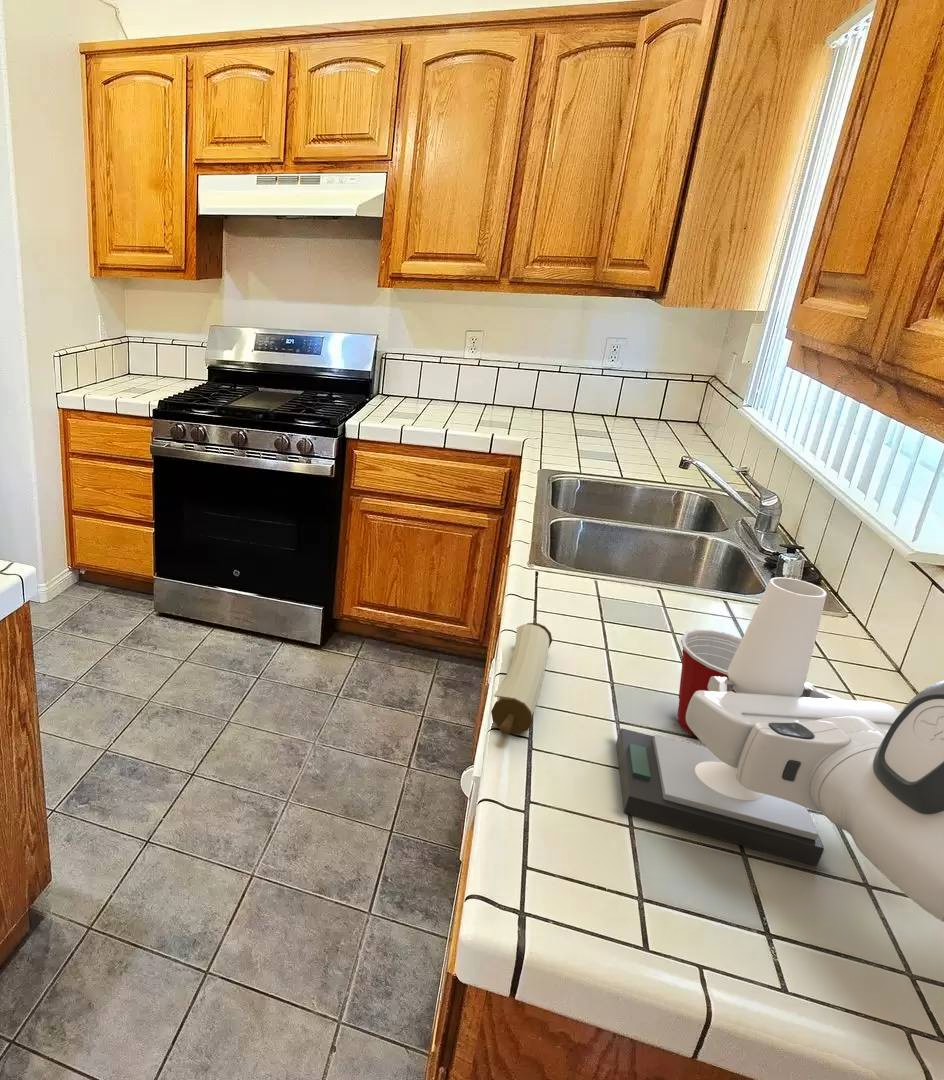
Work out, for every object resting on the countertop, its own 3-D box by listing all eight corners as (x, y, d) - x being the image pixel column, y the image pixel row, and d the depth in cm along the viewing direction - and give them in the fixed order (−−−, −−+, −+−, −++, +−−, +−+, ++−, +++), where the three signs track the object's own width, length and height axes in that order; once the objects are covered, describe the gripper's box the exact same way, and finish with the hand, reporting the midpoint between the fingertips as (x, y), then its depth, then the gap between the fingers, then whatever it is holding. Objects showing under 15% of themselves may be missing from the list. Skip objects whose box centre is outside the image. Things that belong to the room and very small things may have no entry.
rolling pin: (524, 755, 92) (531, 721, 91) (477, 740, 95) (484, 707, 93) (554, 646, 119) (560, 618, 117) (517, 636, 122) (522, 609, 120)
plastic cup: (702, 759, 94) (730, 675, 89) (639, 709, 103) (661, 632, 99) (772, 749, 96) (803, 668, 92) (704, 702, 106) (729, 626, 101)
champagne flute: (685, 757, 88) (746, 570, 80) (748, 766, 87) (817, 577, 79) (708, 794, 82) (777, 596, 74) (776, 805, 81) (854, 605, 72)
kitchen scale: (782, 785, 89) (791, 763, 88) (817, 867, 77) (827, 842, 76) (616, 743, 96) (622, 722, 95) (623, 813, 84) (630, 789, 82)
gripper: (980, 746, 67) (865, 666, 80) (746, 730, 68) (669, 653, 80) (951, 803, 69) (844, 716, 82) (725, 787, 70) (654, 703, 83)
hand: (756, 684), depth 81 cm, fingers open, 7 cm apart
